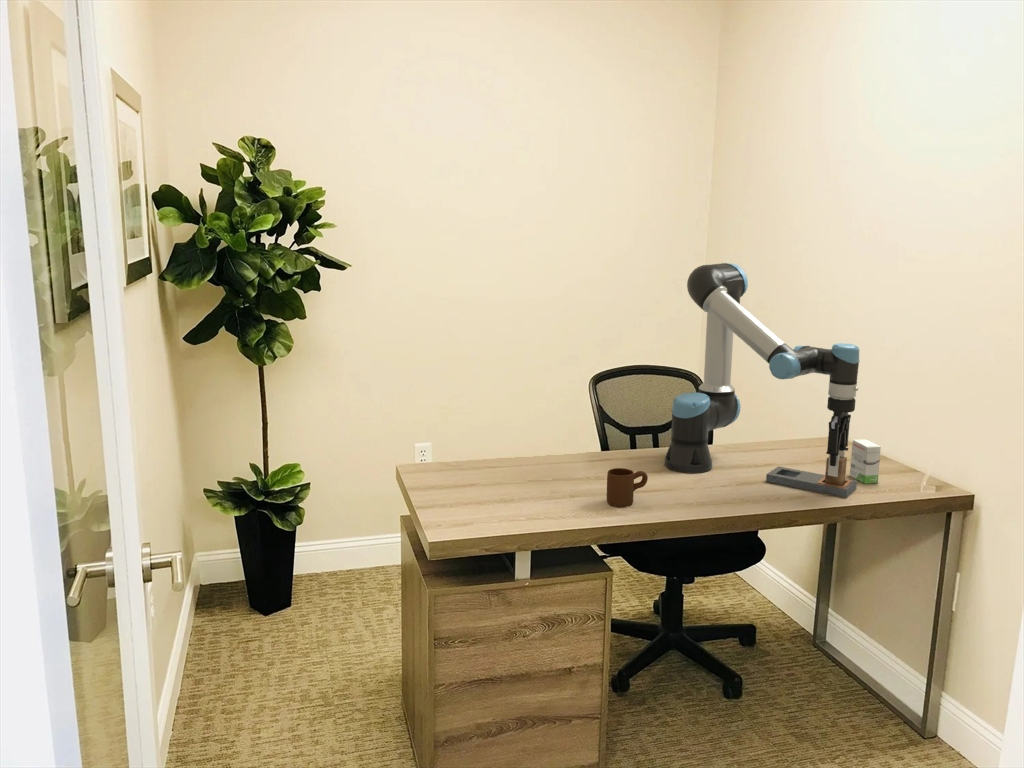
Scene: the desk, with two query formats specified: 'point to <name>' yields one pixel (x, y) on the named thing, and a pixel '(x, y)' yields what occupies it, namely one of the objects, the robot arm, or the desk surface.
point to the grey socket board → (809, 482)
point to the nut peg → (841, 473)
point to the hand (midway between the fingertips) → (835, 473)
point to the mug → (623, 486)
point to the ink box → (865, 461)
